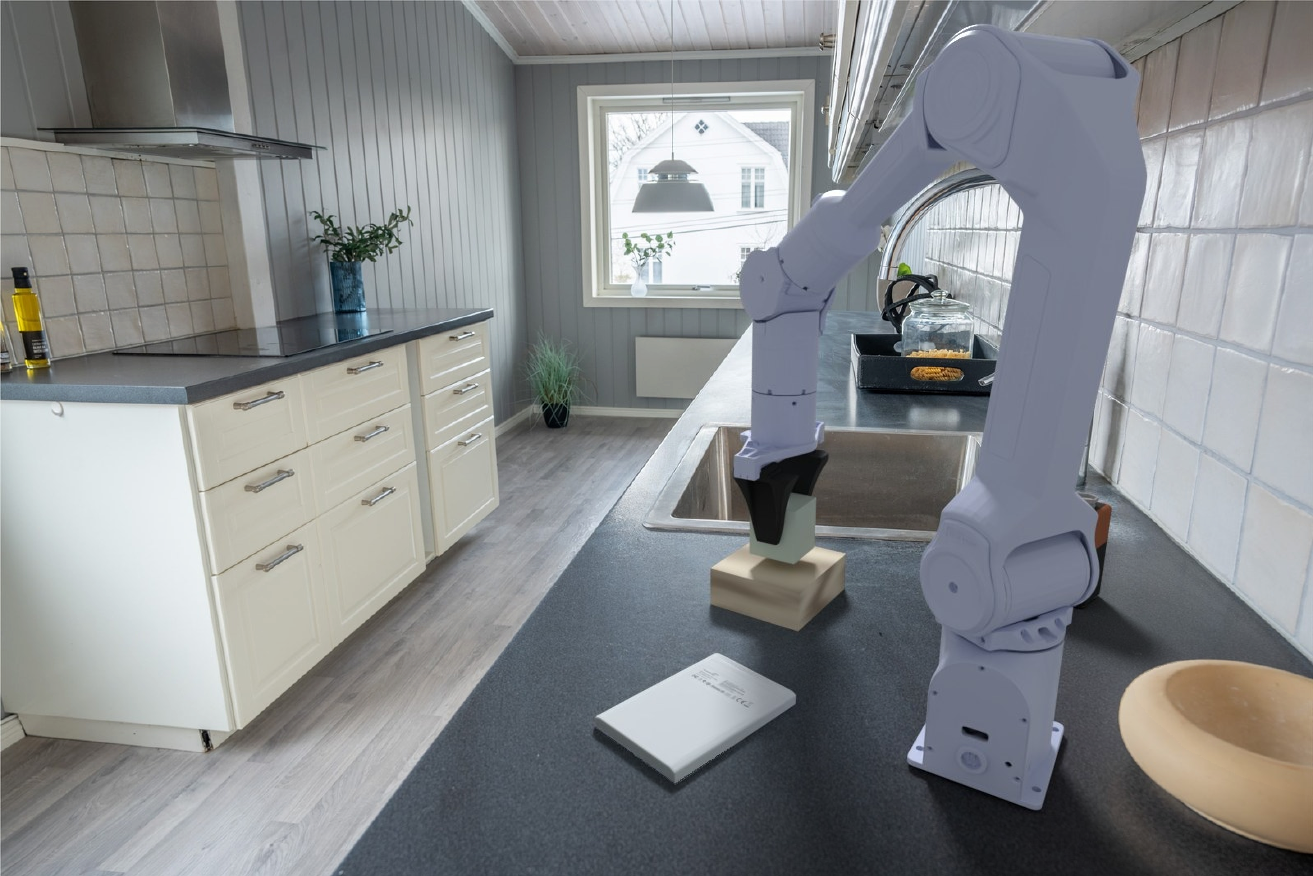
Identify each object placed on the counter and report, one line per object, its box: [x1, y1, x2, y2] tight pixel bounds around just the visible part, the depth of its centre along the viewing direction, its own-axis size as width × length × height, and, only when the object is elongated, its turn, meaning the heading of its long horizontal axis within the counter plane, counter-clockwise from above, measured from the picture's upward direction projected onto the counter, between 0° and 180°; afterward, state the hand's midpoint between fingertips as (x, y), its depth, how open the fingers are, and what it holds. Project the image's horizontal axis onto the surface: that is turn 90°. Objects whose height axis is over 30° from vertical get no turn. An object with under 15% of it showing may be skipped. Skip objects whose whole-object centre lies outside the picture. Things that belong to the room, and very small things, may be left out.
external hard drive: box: [594, 652, 797, 784], centre depth 56 cm, size 2×8×12 cm
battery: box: [1074, 491, 1113, 609], centre depth 72 cm, size 4×7×10 cm, turn 42°
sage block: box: [748, 493, 817, 564], centre depth 72 cm, size 4×4×5 cm
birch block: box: [709, 542, 847, 632], centre depth 73 cm, size 10×9×4 cm
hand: (780, 533), depth 72 cm, fingers closed on sage block, 4 cm apart
